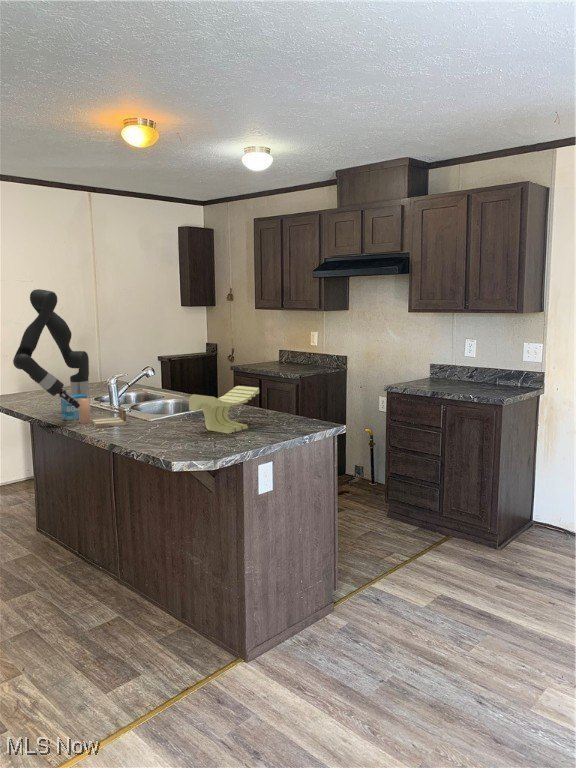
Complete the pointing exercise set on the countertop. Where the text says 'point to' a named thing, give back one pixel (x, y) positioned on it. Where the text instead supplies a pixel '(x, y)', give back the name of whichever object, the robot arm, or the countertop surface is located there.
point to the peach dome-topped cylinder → (84, 410)
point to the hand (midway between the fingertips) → (77, 405)
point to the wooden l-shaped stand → (112, 420)
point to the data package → (70, 408)
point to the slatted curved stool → (222, 408)
